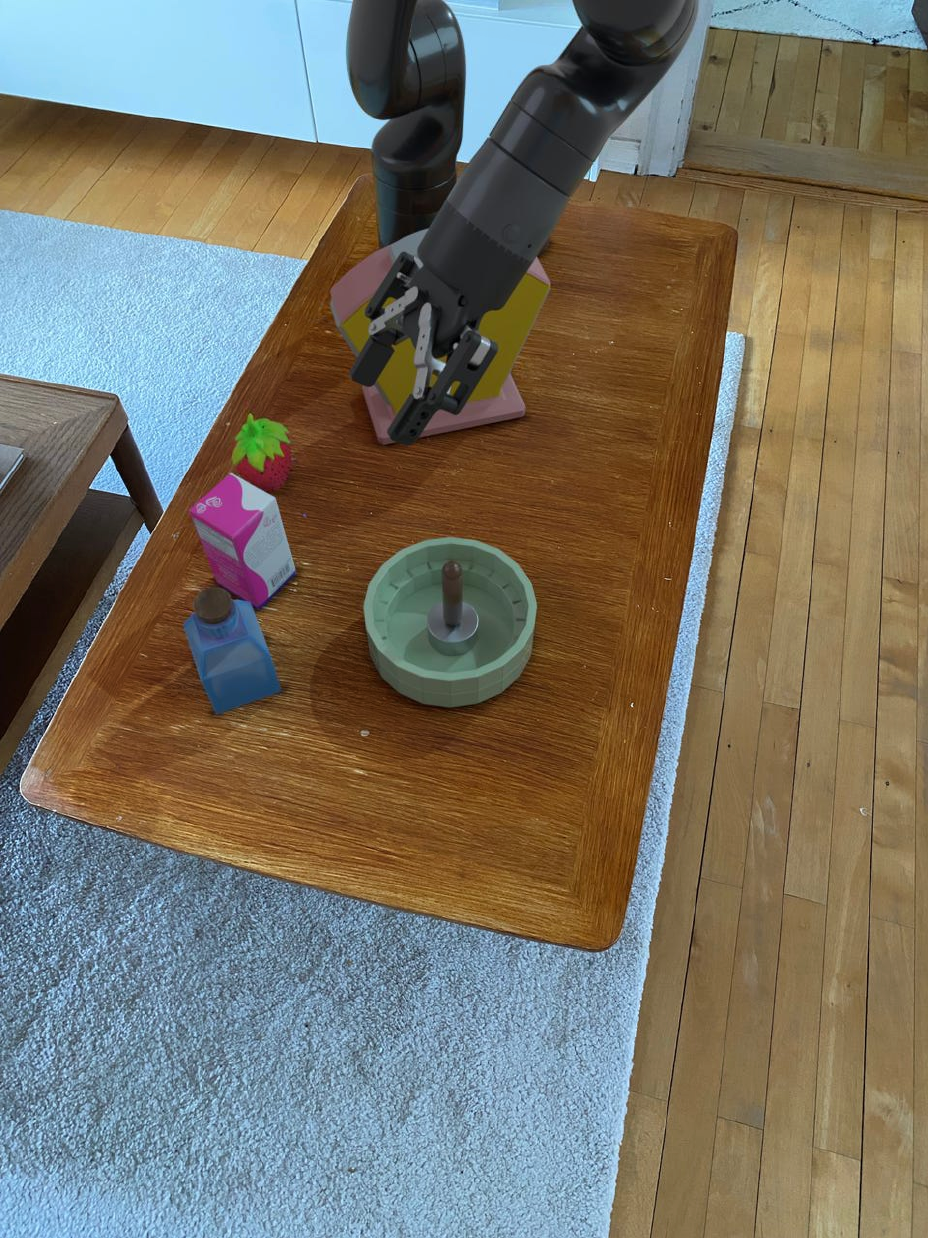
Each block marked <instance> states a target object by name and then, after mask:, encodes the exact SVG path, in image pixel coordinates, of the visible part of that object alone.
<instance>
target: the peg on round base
mask: <svg viewBox="0 0 928 1238" xmlns="http://www.w3.org/2000/svg"><path fill="white" fill-rule="evenodd" d="M442 599H443V602H440V603H438V604H437V605H435V606H434V607H433V608H432V609H431V611H430V612H429V614H428V617H427V631H428V640H429V642H430V644H431V646H432V647H433V648H434V649H435V650H437V651H438V652H440V653H442V654H445V655H450V656H456V655H461V654H464V653H466V652H468V651H469V650H471V649H472V648H473V647H474V645H475V644H476V642H477V639H478V625H479V619H478V615H477V613H476V611H475V610H474V608H473V607H472V606H470V605H469V604H467V603H465V602H463V570H462V567H461V565H460V564H459V563H458V562H456V561H449V562H447V563H445V564H444V566H443V567H442Z"/></svg>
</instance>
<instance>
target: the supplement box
mask: <svg viewBox="0 0 928 1238" xmlns="http://www.w3.org/2000/svg"><path fill="white" fill-rule="evenodd" d="M188 513H189V515H190V518H191V520H192V523H193V526H194V529H195V531H196V533H197V536H198V538H199V541H200V543H201V545H202V549H203V550H204V553H205V555H206V556H205V557H206V558H207V561H208V564H209V566H210V568H211V571H212V574H213V576H214V579H215V581H216V584H217V585H218V586H220V587H221V588H222V589H225V590H226V591H227V592H229V593H231V594H233V595H234V596H236V597H237V598H239V600H242V601H247V602H251V604H252V607H253V609H256V610H258V611H259V610H261V609H262V608H263V607H264V606H265V605H266V604H267V603H268V602H270V600H271V599H272V598H273V597H275V595H276V594H278V592H279V591H280V590H281V589H282V588H283V587H285V585H286V584H287V583H288V582H289V581H291V579H292V578H293V577H294V576H295V575H297V570H296V566H295V563H294V559H293V556H292V552H291V549H290V545H289V542H288V538H287V535H286V531H285V527H284V523H283V520H282V517H281V512H280V509H279V505H278V502H277V498H276V497H275V496H273V495H272V494H269V493H267V492H266V491H265V490H261V489H259V487H257V486H255V485H252V484H251V483H250V482H249V481H247V480H244V479H243V478H241V476H238V475H236V474H234V473H233V472H229V473H228V474H227V475H226V476H225V477H224V478H223V479H221V480H220V481H219V482H218V483H217V484H216V485H215V486H214V487H213V488H212V489H210V491H208V492H207V493H206V494H205V495H204V496H202V498H200V499H199V500H198V501H197V502H196V503H195V504H194V505H193V506H191V507H190V508H189V509H188Z"/></svg>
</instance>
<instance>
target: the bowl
mask: <svg viewBox="0 0 928 1238" xmlns="http://www.w3.org/2000/svg"><path fill="white" fill-rule="evenodd" d="M449 561H456V562H458V563H459V564H460V565H461V567H462V570H463V602H465V603H467V604H469V605H470V606H472V607H473V608H474V610H475V611H476V613H477V615H478V619H479V625H478V639H477V642H476V644H475V645H474V647H473V648H472V649H471V650H469V651H468V652H466V653H464V654H461V655H456V656H450V655H445V654H442V653H440V652H438V651H437V650H435V649H434V648H433V647H432V646H431V644H430V642H429V640H428V631H427V617H428V614H429V612H430V611H431V609H432V608H433V607H434V606H435V605H437V604H438V603H440V602H443V599H442V567H443V566H444V564H445V563H447V562H449ZM364 597H365V598H364V601H363V605H362V606H363V607H362V609H363V615H364V623H365V631H366V637H367V644H368V651H369V656H370V659H371V661H372V662H373V665H374V667H375V669H376V670H377V672H378V673H379V675H380V677H381V678H382V679H383V680H384V681H385V682H386V683H387V684H389V686H391V688H393V689H394V690H395V691H396V692H397V693H399V694H401V695H402V696H405V697H407V698H410V699H412V700H414V701H416V702H418V703H420V704H423V705H427V706H435V707H436V706H437V707H443V708H457V707H463V706H470V705H477V704H480V703H483V702H484V701H487V700H489V699H491V698H493V697H496V696H498V695H500V694H502V693H503V692H504V691H505V690H506V689H507V688H509V687H510V686H511V685H512V684H513V683H514V682H515V681H517V680H518V678H519V677H521V675H522V673H523V671H524V670H525V667H526V666H527V664H528V662H529V660H530V658H531V657H532V651H533V645H534V644H533V643H534V635H535V627H536V620H537V619H536V617H537V610H538V603H537V599H536V595H535V591H534V588H533V584H532V582H531V581H530V579H529V578H528V576H527V575H526V573H525V572H524V570H523V569H522V567H521V566H520V564H519V563H518V562H516V561H515V560H514V559H513V558H511V557H510V556H509V555H508V554H506V553H505V552H503V551H502V550H501V549H499V548H497V547H494V546H492V545H490V544H487V543H484V542H481V541H479V540H477V539H471V538H470V539H469V538H460V537H453V536H448V537H447V536H446V537H439V538H432V539H424V540H422V541H419V542H417V543H415V544H412V545H410V546H407V547H405V548H403V549H401V550H399V551H397V552H396V553H395V554H394V555H393V556H392V557H389V558H388V559H387V560H386V561H385V562H384V563H382V564H381V565H380V566H379V569H378V570H377V571H376V572H375V574H374V575H373V577H372V578H371V580H370V581H369V583H368V586H367V589H366V593H365V596H364Z"/></svg>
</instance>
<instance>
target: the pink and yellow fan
mask: <svg viewBox="0 0 928 1238" xmlns="http://www.w3.org/2000/svg"><path fill="white" fill-rule="evenodd" d="M427 231H428V229H425V230H421V231H419V232H416V233H414V234H411V235H409V236H406V237H404V238H402V239H401V240H399V241H397V242H395V243H393V244H391V245H389V246H387V247H384V248H382V249H380V250H379V249H377V250H375V251H374V252H372V253H370V254H369V255H367V257H365V258H364V259H363V260H361V261H360V262H359V263H357V264H356V265H355V266H353V267H352V268H351V269H349V270H348V271H347V272H346V273H345V274H344V275H343V276H342V277H341V278H340V279H339V280H338V281H337V282H336V283H335V284H334V285H333V286H331V288H330V290H329V293H330V297H331V299H330V302H329V306H330V309H331V312H332V316H333V319H334V322H335V326H336V328H337V329H338V331H339V333H340V334H341V336H342V338H343V339H344V341H345V342H346V344H347V345H348V347H349V349H350V351H352V353H353V354H354V357H355V358H356V359H357V357H358V356H359V354H360V352H361V350H362V349H363V347H364V345H365V344H366V342H367V340H368V339H369V337H370V334H369V326H370V324H371V319H370V318H367V317H366V316H365V309H366V307H367V305H368V304H369V302H370V300H371V299H372V297H373V296H374V294H375V292H376V291H377V289H378V288H379V286H380V285H381V283H382V281H383V280H384V278H385V277H386V275H387V274H388V272H389V270H390V269H391V267H392V266H393V264H394V263H395V261H396V259H397V258H398V256H399V255H400V253H402V252H404V251H405V252H407V253H408V254H410V255H413V256H415V257H417V258H419V257H418V254H417V249H418V246H419V244H420V243H421V241H422V239H423V238H424V236H425V234H426V233H427ZM550 291H551V281H550V279H549V277H548V275H547V273H546V271H545V269H544V267H543V266H542V264H541V261H540V259H539V258H538V256H537V257H536V258H535V260H534V261H533V263H532V264H531V266H530V268H529V269H528V271H527V272H526V274H525V275H524V276H523V278H522V280H521V281H520V283H519V284H518V286H517V287H516V289H515V290H514V292H513V293H512V295H511V296H510V298H509V299H508V301H507V302H506V304H505V305H504V307H503V308H502V309H500V310H496V311H494V310H492V311H489V312H487V313H485V314H484V316H483V318H482V320H481V322H480V325H479V329H478V332H479V333H480V334H481V335H482V336H484V337H486V338H488V339H490V340H492V341H494V342H496V343H497V344H498V351H497V354H496V355H495V357H494V359H493V360H492V362H491V364H490V365H489V367H488V368H487V370H486V372H485V373H484V375H483V376H482V378H481V380H480V381H479V383H478V385H477V386H476V388H475V389H474V391H473V393H472V394H471V396H470V398H469V399H468V401H467V402H466V404H465V406H464V407H463V409H462V411H461V412H460V413H459V414H458V415H453V414H451V413H449V412H446V411H444V410H438V411H437V412H435V414H434V415H433V417H432V418H431V420H430V421H429V423H428V424H427V426H426V427H425V428H424V430H423V432H422V433H421V435H420V436H419V438H423V437H428V436H434V435H438V434H443V433H449V432H454V431H458V430H463V429H469V428H473V427H478V426H484V425H487V424H492V423H498V422H503V421H508V420H513V419H518V418H522V417H524V415H525V414H526V405H525V403H524V400H523V398H522V396H521V394H520V392H519V389H518V387H517V385H516V382H515V380H514V378H513V375H512V373H511V372H512V370H513V369H514V366H515V363H516V362H517V360H518V358H519V356H520V353H521V351H522V349H523V347H524V345H525V343H526V341H527V339H528V337H529V335H530V333H531V330H532V328H533V327H534V324H535V323H536V320H537V318H538V316H539V314H540V311H541V310H542V307H543V305H544V304H545V302H546V299H547V297H548V295H549V293H550ZM395 301H396V299H394V298H392V297H389V298H388V299H387V300H386V302H385V303H384V305H383V306H382V308H384V309H385V307H387V306H388V305H390V304H392V303H393V302H395ZM392 347H393V349H394V350H395V352H394V353H393V355H392V356H391V358H390V360H389V361H388V363H387V364H386V366H385V368H384V369H383V371H382V373H381V374H380V376H379V377H378V379H377V381H376V382H375V384H374V385H373V386H371V387H366V386H364V385H361V388H362V390H361V391H362V393H363V396H364V400H365V403H366V407H367V409H368V412H369V415H370V418H371V422H372V425H373V428H374V431H375V435H376V437H377V441H378V443H379V444H381V445H389V444H394V443H396V442H395V441H392V440H391V438H390V437H389V435H388V434H387V430H388V428H389V426H390V425H391V423H392V422H393V420H394V419H395V417H396V415H397V414H398V412H399V411H400V409H401V408H402V406H403V404H404V403H405V401H406V400H407V398H408V397H409V395H410V394H413V391H414V386H415V381H416V376H417V368H416V366H415V365H414V357H415V352H416V349H415V348H414V346H413V345H412V342H411V339H410V338H408V339H406V340H405V341H403V342H401V343H399V344H398V345H396V346H394V345H392ZM446 358H447V355H446V356H444V357H442V358H437V360H439V361H441V362H444V363H446ZM436 380H437V377H436V375H434V374H432V376H431V381H430V387H433V385H434V384H435V382H436ZM460 383H461V382H458V381H455V382H453V384H452V385H451V389H450V394H449V395H452V396H453V394H454V393H455V391H456V390H457V388H458V386H459V385H460Z"/></svg>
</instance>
